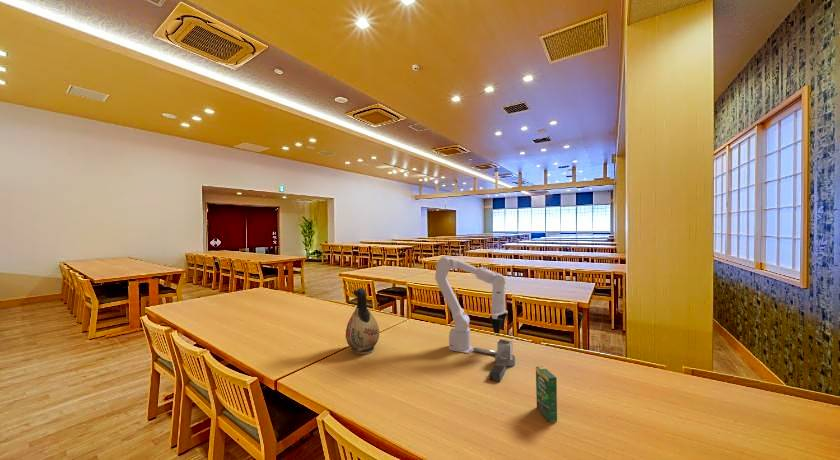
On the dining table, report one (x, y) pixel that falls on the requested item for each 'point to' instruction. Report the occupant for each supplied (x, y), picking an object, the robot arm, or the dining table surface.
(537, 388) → the coffee box
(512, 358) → the ratchet
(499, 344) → the socket
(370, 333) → the ceramic jug
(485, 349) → the bar
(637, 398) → the dining table surface
